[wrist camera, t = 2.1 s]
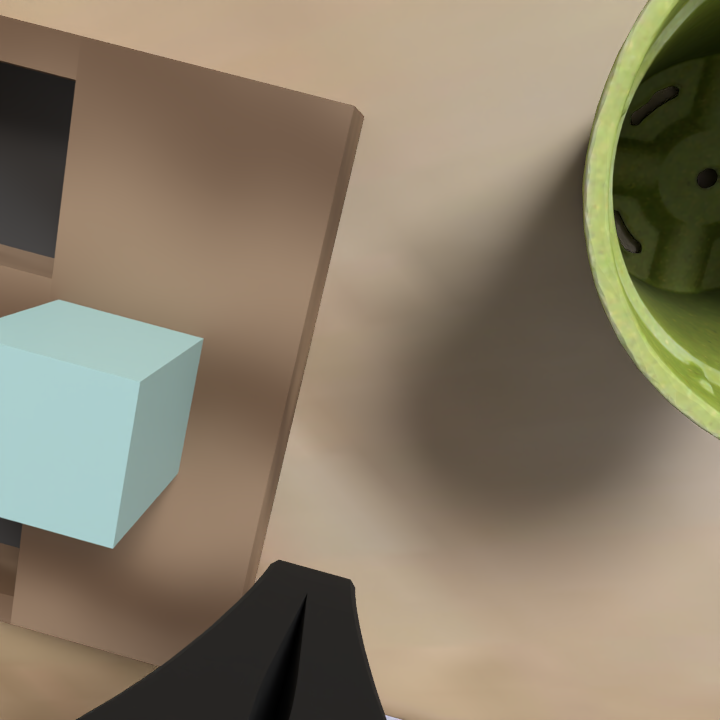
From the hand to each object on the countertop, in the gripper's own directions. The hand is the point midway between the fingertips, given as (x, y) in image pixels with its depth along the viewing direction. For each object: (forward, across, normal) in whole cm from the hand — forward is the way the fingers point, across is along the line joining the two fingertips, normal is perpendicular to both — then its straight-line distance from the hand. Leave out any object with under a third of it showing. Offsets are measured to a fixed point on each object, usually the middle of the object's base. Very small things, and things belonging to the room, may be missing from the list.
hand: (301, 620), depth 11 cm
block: (+7, +6, 0) cm, 10 cm away
